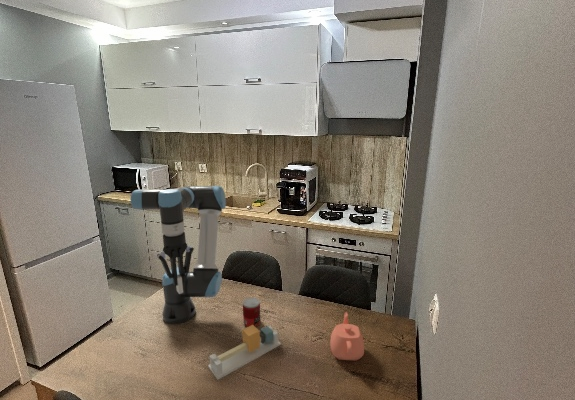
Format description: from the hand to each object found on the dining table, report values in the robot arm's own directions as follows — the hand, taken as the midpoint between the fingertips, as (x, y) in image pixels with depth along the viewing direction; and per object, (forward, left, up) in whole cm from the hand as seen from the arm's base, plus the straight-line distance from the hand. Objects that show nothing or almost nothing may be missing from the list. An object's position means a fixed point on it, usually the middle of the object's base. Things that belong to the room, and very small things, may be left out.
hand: (180, 291), depth 117 cm
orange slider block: (+14, +22, -27) cm, 37 cm away
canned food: (-2, +32, -30) cm, 44 cm away
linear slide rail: (+14, +19, -29) cm, 38 cm away
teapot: (+38, +52, -30) cm, 71 cm away
